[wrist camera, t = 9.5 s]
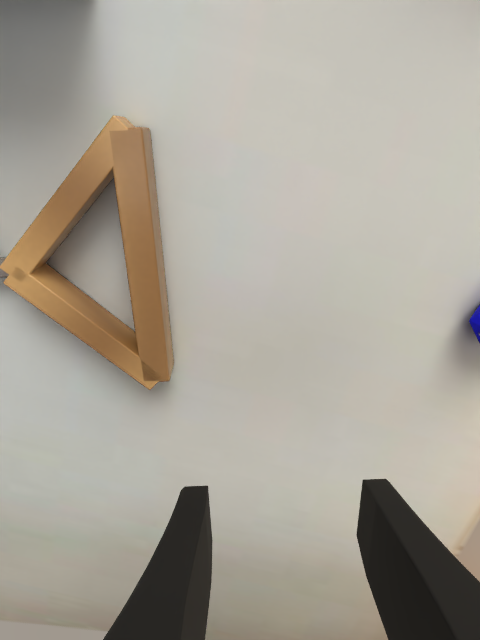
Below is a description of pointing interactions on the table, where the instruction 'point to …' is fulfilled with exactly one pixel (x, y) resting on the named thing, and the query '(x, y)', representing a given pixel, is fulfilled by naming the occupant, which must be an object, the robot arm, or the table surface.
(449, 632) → the robot arm
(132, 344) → the hanger
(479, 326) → the die
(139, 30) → the table surface
